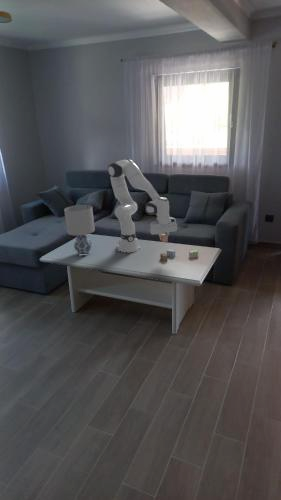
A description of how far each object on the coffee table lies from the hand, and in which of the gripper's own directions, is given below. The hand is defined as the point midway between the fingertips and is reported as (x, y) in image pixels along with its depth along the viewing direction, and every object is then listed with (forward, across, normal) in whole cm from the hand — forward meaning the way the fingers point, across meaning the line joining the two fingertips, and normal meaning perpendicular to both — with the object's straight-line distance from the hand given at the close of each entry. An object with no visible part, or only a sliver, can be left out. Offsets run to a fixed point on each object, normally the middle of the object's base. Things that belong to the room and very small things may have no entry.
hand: (163, 238), depth 252 cm
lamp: (+18, -52, +43) cm, 70 cm away
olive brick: (+16, +21, -6) cm, 28 cm away
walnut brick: (+17, -1, -1) cm, 17 cm away
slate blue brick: (+17, +7, +4) cm, 19 cm away
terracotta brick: (+2, 0, 0) cm, 2 cm away
